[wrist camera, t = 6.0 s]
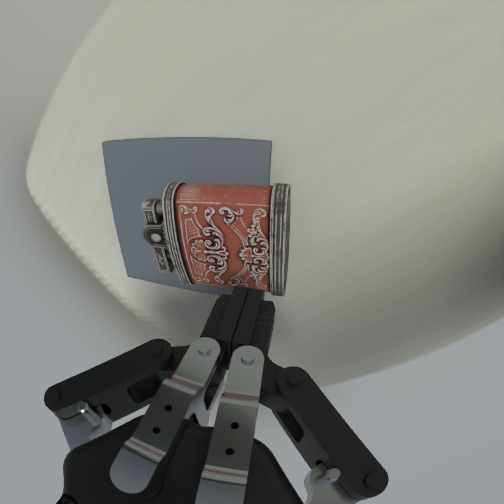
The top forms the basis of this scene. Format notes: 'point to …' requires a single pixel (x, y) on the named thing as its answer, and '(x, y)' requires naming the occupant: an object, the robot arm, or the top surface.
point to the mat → (165, 171)
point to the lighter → (221, 234)
